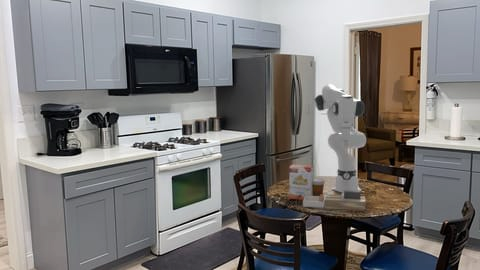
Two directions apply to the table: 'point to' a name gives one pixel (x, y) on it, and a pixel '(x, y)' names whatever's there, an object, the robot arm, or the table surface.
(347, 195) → the grey block
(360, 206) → the bench plate
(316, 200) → the box
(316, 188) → the disposable coffee cup
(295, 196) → the cracker box
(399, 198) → the table surface
